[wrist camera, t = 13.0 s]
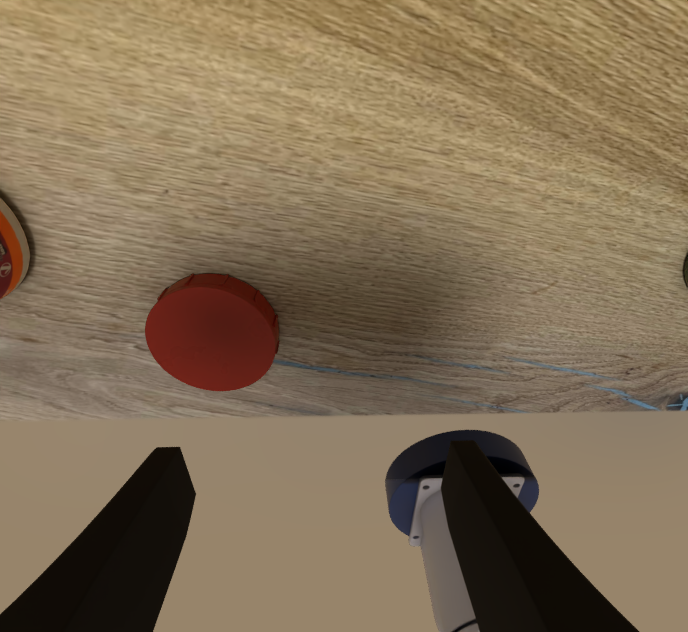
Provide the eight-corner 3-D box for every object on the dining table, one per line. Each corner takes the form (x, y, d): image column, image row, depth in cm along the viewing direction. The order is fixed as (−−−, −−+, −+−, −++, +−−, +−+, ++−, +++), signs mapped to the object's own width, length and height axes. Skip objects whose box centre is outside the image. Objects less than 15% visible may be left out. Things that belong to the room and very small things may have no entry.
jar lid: (275, 274, 17) (271, 288, 16) (282, 373, 20) (279, 391, 19) (144, 271, 17) (129, 286, 15) (171, 372, 20) (160, 391, 18)
